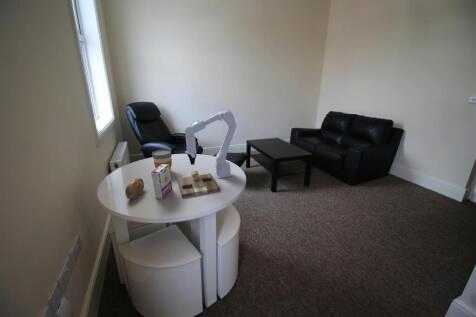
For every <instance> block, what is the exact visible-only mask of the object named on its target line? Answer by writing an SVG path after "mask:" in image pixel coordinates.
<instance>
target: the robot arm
mask: <svg viewBox="0 0 476 317" xmlns="http://www.w3.org/2000/svg"><path fill="white" fill-rule="evenodd" d="M216 121H221V122H222V121H224V122H225V123H226V125H227V130H226V133H225V135H224V139H223V141H222V143H221V147H220V149H219V151H218V152H217V153H216V155H215V157H216V159H215V173H214V176H215V177H216V179H223V178H231V177H232V175H231V164H230V162H227V154H228V150H229V148H230V146H231V143H232V140H233V137H234V134H235V131H236V129H237V122H236V119H235V116H234V114H233V113H232V111H231V110H230V109H224V110H223V111H222V110H221V111H219V112H217V113H215V114H213V115H212V116H210V117H208V118H206V119H205V120H203V119H197V120H196V122H194V123H190V124H189V125H187V126H186V127H185V129H184V134H185V144H186V151H184V152H185V154H186V155H187V157H188V159H189V163H190V165H191V166H193V165H195V162H196V158H197V156H198V155H197V146H196V136H195V134H196V133H199V132H200V131H202V130H203V131H204V130H205V129H206V127H207V125H210V124H213V123H214V122H216Z"/></svg>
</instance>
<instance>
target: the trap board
mask: <svg viewBox="0 0 476 317" xmlns="http://www.w3.org/2000/svg"><path fill="white" fill-rule="evenodd" d="M176 180H177V185H178V189H179V192H180V196H181V198H187V197H194V196H199V195H205V194H210V193H216V192H220V191H221V187H220V185H219V184H218V182H217V181H216V179H215V177H214V176H213V175H212V173H204V174H199V179H197V180H193V179H192V175H191V176H185V177H179V178H176Z"/></svg>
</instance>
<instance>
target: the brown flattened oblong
mask: <svg viewBox="0 0 476 317" xmlns="http://www.w3.org/2000/svg"><path fill="white" fill-rule="evenodd" d="M144 188H145V183H144V180H143V178H135V179H133V180H132V181H131V182H130V183H129V184H128V185H127V186H126V187H125V190H124V191H125V196H126V198H127V200H134V199H136V198H137V197H138V196H139V195H140V194H142V192H143V191H144Z"/></svg>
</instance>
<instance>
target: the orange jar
mask: <svg viewBox="0 0 476 317" xmlns="http://www.w3.org/2000/svg"><path fill="white" fill-rule="evenodd" d="M152 159H153V164H154V167H155V169H156V168H157V167H159V166H160V165H161V164H167V165H169V168H170V174H171V172H172V166H173V162H172V161H173V159H172V151H171V150H170V149H158V150H155V151H152Z"/></svg>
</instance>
